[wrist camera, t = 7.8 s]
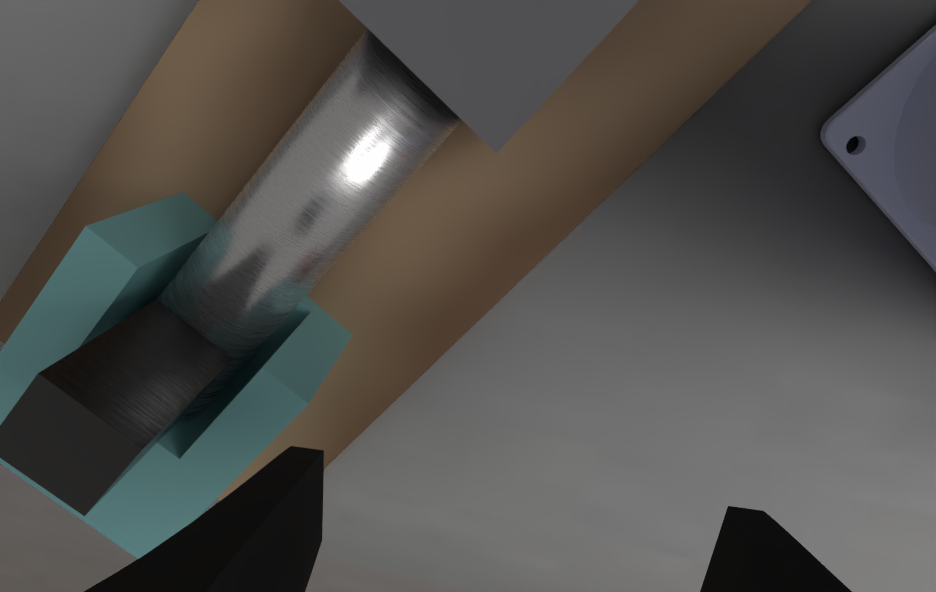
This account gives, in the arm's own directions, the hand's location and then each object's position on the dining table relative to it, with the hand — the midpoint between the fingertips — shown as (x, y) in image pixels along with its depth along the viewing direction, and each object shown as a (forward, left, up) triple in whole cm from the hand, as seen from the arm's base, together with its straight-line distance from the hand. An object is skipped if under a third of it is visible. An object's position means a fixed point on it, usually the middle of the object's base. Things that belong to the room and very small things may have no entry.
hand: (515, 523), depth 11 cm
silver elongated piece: (+7, +1, -8) cm, 11 cm away
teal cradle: (+7, +8, -9) cm, 14 cm away
